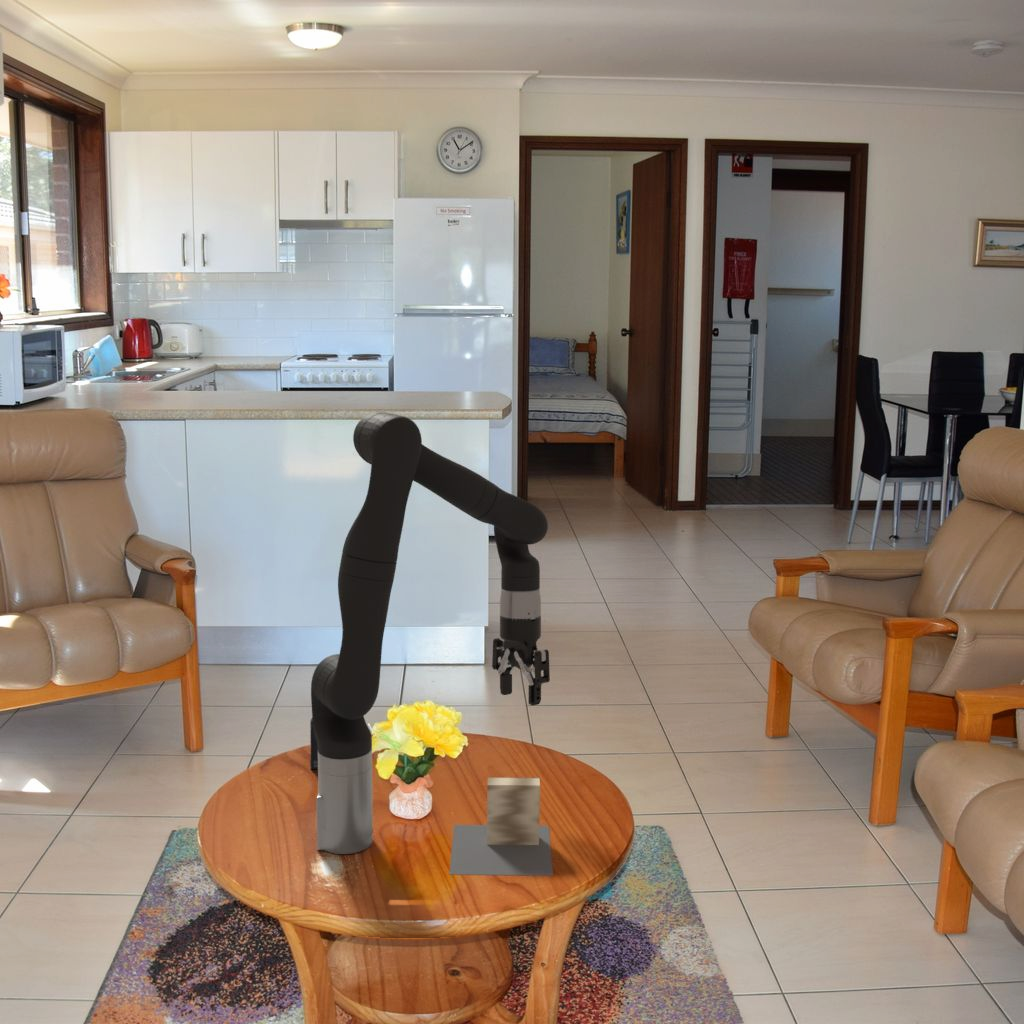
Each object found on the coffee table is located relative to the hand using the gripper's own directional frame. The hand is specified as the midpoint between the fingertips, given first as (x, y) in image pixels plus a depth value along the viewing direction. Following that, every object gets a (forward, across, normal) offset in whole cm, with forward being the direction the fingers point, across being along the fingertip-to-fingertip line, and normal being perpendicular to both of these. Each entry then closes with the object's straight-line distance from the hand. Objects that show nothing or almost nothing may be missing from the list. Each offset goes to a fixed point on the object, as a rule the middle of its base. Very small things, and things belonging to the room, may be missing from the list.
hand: (520, 699), depth 215 cm
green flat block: (+21, +11, -10) cm, 26 cm away
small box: (+19, -40, -18) cm, 48 cm away
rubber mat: (+22, +12, -13) cm, 28 cm away
